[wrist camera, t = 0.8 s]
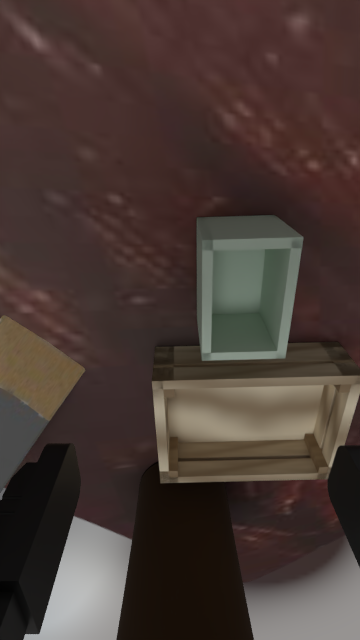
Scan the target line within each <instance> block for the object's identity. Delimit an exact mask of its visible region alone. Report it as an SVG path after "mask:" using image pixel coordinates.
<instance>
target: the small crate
mask: <svg viewBox="0 0 360 640" xmlns="http://www.w3.org/2000/svg"><path fill="white" fill-rule="evenodd" d="M302 244H303V236H301V235H300V234H299V233H297V232H296V231H295V230H294V229H292V228H291V227H290V226H288V225H287V224H286V223H285V222H283V221H282V220H281V219H279V218H278V217H277V216H276V215H260V216H226V217H197V323H198V332H199V341H200V350H201V359H202V361H211V360H248V359H285V358H286V351H287V344H288V337H289V331H290V324H291V317H292V311H293V304H294V297H295V291H296V284H297V277H298V271H299V264H300V257H301V251H302Z"/></svg>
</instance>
